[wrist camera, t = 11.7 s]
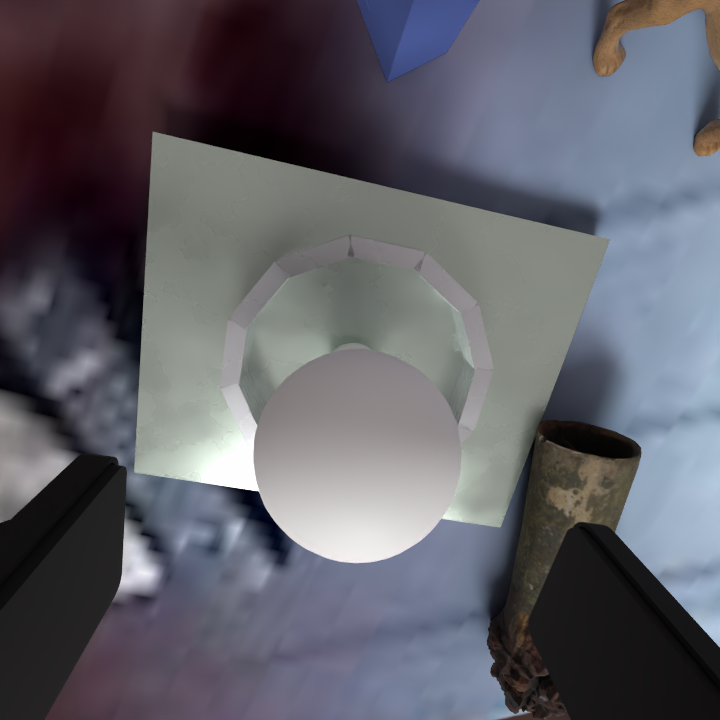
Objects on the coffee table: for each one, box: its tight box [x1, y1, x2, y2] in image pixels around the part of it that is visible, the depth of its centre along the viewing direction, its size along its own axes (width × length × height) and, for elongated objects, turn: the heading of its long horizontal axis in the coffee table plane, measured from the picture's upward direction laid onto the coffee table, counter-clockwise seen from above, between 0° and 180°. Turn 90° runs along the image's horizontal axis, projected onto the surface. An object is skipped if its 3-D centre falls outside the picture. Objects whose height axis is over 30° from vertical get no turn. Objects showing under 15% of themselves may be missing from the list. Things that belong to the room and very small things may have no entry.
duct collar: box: [134, 132, 610, 527], centre depth 20 cm, size 20×16×3 cm
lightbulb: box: [253, 343, 461, 563], centre depth 15 cm, size 6×6×11 cm
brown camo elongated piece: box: [487, 420, 641, 720], centre depth 23 cm, size 18×7×6 cm, turn 175°
